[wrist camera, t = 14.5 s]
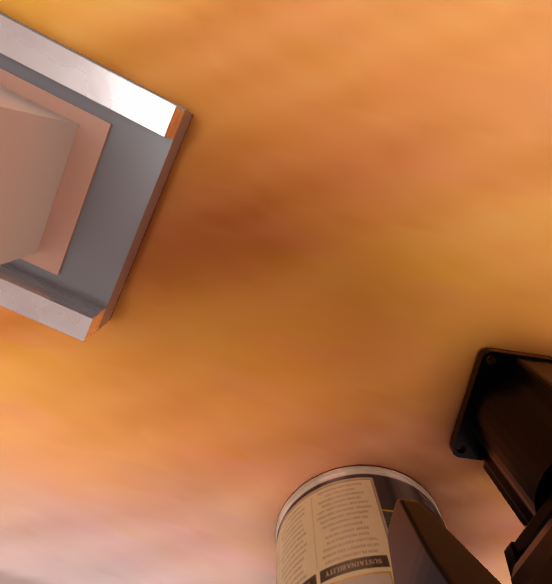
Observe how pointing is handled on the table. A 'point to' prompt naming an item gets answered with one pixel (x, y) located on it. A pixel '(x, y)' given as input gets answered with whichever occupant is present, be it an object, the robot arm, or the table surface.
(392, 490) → the coffee can
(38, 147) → the cream block
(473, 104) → the table surface
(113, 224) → the display base
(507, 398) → the robot arm
